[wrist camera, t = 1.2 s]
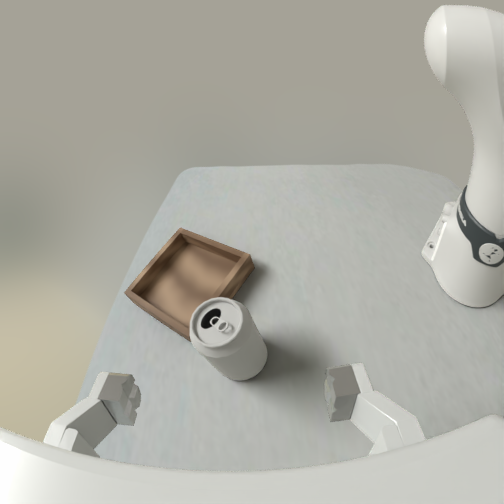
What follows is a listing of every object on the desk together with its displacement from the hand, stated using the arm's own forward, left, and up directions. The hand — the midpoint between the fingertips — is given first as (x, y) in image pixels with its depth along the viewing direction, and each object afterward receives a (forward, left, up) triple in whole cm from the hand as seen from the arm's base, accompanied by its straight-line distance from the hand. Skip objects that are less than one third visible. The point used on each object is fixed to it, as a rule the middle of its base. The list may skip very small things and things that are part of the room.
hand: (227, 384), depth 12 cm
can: (-6, -12, -29) cm, 32 cm away
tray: (-12, -27, -28) cm, 41 cm away
